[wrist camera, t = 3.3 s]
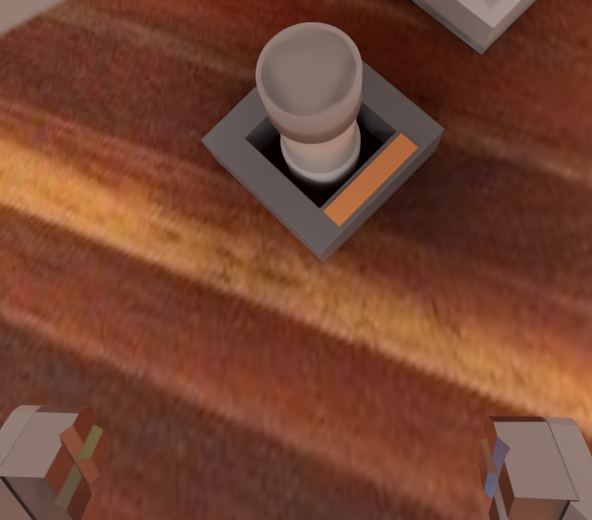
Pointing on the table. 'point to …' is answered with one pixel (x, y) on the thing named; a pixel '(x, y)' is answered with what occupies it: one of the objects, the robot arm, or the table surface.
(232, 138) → the block
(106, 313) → the table surface
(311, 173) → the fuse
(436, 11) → the tray
